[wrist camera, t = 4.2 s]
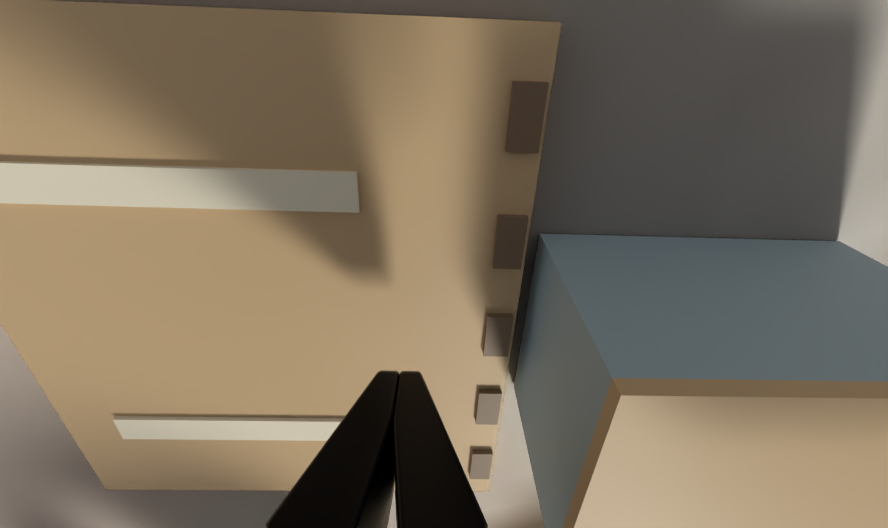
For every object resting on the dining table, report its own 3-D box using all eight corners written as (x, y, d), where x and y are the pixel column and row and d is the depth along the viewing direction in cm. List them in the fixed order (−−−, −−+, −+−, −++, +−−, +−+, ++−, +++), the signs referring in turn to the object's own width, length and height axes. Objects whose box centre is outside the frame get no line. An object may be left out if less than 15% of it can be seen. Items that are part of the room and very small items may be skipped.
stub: (838, 241, 10) (1142, 401, 5) (753, 389, 12) (918, 577, 8) (539, 233, 9) (620, 395, 5) (513, 385, 12) (555, 578, 8)
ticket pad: (552, 22, 7) (564, 22, 7) (487, 473, 14) (489, 496, 13) (-163, -9, 7) (-228, -12, 6) (118, 471, 13) (102, 494, 13)
